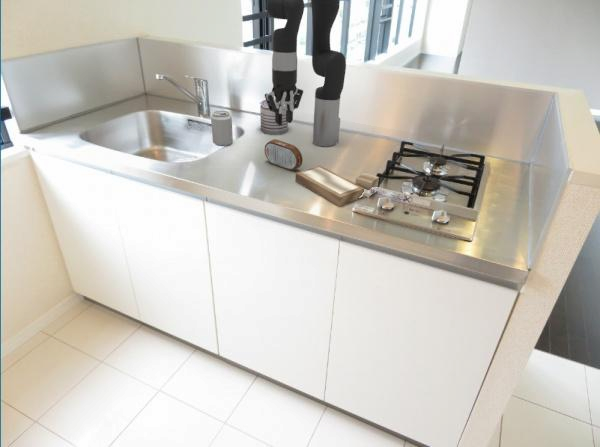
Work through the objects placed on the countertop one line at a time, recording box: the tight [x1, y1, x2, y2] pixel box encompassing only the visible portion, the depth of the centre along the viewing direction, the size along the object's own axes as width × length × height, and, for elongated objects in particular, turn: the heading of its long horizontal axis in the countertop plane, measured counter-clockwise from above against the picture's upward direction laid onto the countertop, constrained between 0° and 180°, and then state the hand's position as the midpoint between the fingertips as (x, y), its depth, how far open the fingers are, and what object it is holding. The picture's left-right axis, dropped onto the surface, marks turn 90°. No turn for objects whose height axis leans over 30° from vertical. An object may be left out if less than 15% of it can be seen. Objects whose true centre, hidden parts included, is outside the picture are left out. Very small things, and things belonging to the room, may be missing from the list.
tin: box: [264, 139, 304, 171], centre depth 139 cm, size 15×3×8 cm, turn 51°
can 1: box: [210, 109, 234, 147], centre depth 155 cm, size 8×8×12 cm
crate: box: [355, 172, 380, 190], centre depth 125 cm, size 5×5×5 cm
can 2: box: [259, 99, 289, 136], centre depth 168 cm, size 11×11×12 cm
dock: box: [295, 165, 365, 208], centre depth 127 cm, size 10×20×3 cm, turn 39°
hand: (284, 123), depth 133 cm, fingers open, 3 cm apart
